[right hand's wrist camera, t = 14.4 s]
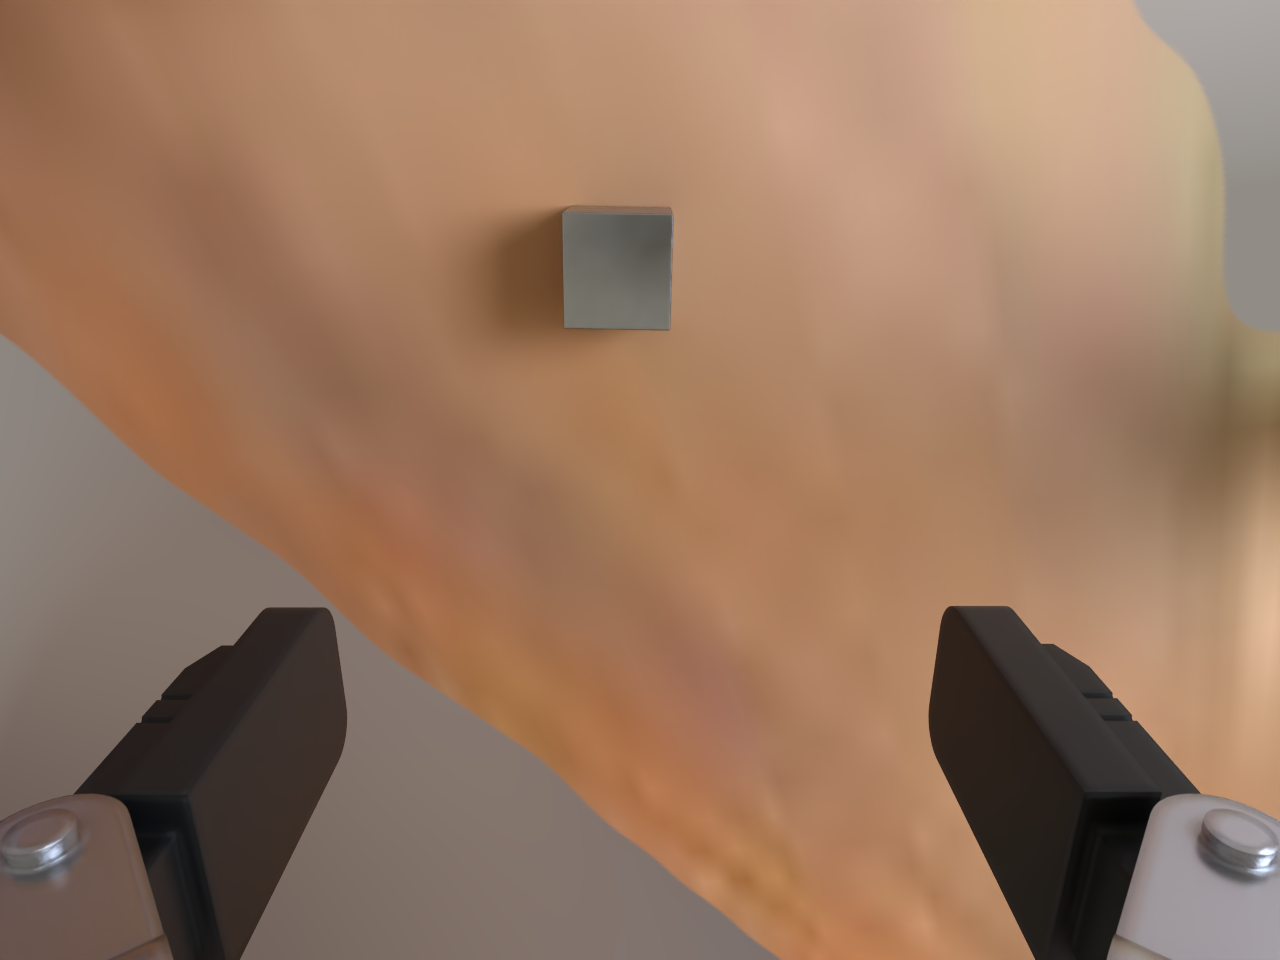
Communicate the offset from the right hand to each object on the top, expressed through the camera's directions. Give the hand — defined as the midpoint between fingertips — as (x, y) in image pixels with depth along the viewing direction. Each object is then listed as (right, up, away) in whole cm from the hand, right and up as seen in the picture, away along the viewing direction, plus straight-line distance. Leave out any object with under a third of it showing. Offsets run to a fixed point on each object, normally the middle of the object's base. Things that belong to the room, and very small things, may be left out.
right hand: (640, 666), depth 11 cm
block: (-1, +12, +28) cm, 30 cm away
